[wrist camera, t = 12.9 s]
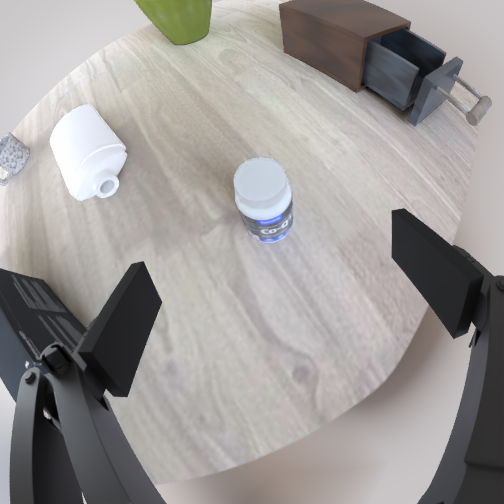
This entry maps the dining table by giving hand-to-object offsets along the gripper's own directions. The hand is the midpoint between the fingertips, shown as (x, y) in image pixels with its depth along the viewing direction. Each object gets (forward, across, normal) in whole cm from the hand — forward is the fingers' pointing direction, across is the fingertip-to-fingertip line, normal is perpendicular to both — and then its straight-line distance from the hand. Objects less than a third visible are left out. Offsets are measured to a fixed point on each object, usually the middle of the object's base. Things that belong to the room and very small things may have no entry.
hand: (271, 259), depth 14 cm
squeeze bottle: (+26, -23, +8) cm, 36 cm away
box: (+8, -27, -10) cm, 30 cm away
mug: (+33, -48, +14) cm, 60 cm away
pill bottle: (+14, 0, -4) cm, 15 cm away
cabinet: (+33, +18, +15) cm, 40 cm away
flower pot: (+46, -7, +28) cm, 54 cm away
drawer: (+24, +24, +7) cm, 35 cm away
